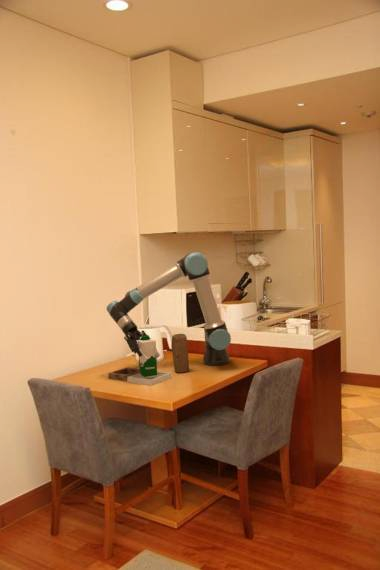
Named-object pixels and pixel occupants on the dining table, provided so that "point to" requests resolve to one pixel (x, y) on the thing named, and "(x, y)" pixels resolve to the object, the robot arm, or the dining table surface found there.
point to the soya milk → (148, 356)
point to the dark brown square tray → (123, 373)
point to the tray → (149, 378)
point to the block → (180, 353)
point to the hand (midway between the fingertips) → (152, 358)
